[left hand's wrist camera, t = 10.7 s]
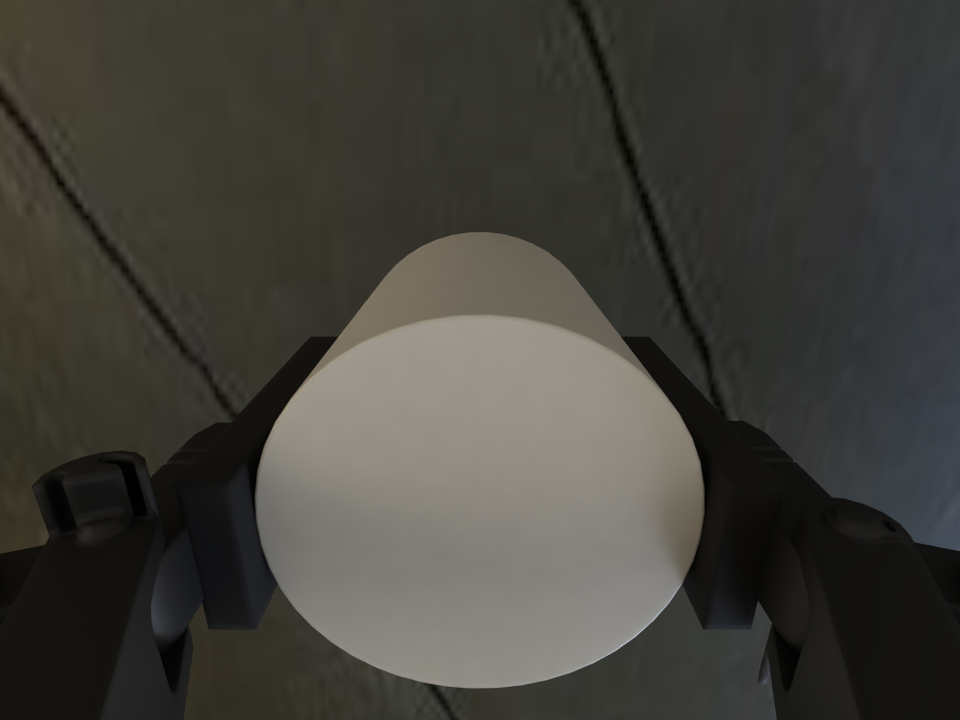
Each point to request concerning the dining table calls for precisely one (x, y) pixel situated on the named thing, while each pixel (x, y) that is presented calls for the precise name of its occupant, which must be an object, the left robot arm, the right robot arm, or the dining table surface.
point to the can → (479, 476)
